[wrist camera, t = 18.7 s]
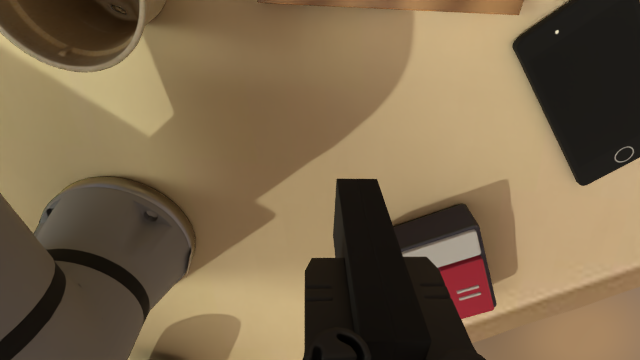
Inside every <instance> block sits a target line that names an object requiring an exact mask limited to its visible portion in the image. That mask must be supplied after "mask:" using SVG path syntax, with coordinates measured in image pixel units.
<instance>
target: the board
mask: <svg viewBox="0 0 640 360" xmlns="http://www.w3.org/2000/svg"><path fill="white" fill-rule="evenodd" d="M258 3H274V4H295V5H317V6H338V7H359V8H380V9H401V10H422V11H443V12H464V13H486V14H507V15H519V13H520V10H521V7H522V3H523V0H258Z"/></svg>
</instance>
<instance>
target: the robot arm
mask: <svg viewBox="0 0 640 360" xmlns="http://www.w3.org/2000/svg"><path fill="white" fill-rule="evenodd" d="M333 238H334V248H335V258H312V259H311V261H310V263H309V264H308V266H307V268H306V270H305V352H304V358H303V360H486V359H485V358H483V357H482V356H481V355H479V354H478V353H477V352H476V350H475V349H474V347H473V345H472V343H471V341H470V338H469V336H468V334H467V332H466V329H465V327H464V325H463V323H462V320H461V318H460V316H459V314H458V311H457V309H456V307H455V305H454V302H453V300H452V299H451V298H450V293H449V291H448V289H447V287H446V286H445V282H444V280H443V278H442V275H441V273H440V271H439V269H438V268H437V267H436V266H435V265H434V264H433V263H432V262H431V261H430V260H429V259H428V258H427V257H403V255H402V252H401V249H400V246H399V243H398V240H397V237H396V234H395V231H394V228H393V225H392V222H391V219H390V216H389V213H388V210H387V207H386V204H385V202H384V199H383V196H382V193H381V190H380V187H379V184H378V181H377V179H337V183H336V199H335V215H334V231H333ZM194 251H195V235H194V231H193V229H192V226H191V224H190V222H189V220H188V219H187V217H186V216H185V214H184V213H183V212H182V211H181V210H180V209H179V207H178V206H177V205H176V204H174V203H173V202H172V201H171V200H170V199H168V198H167V197H166V196H164V195H163V194H161V193H160V192H158V191H156V190H154V189H152V188H150V187H148V186H146V185H143V184H141V183H138V182H135V181H132V180H128V179H123V178H117V177H92V178H87V179H83V180H80V181H77V182H75V183H73V184H71V185H69V186H67V187H66V188H65V189H64V190H62V191H61V192H60V193H59V194H58V195H57V196H56V197H55V198H53V199H52V200H51V201H50V202H49V203H48V205H47V206H46V207H45V209H44V211H43V213H42V216H41V219H40V221H39V225H38V227H37V229H36V231H35V233H34V234H33V233H32V232H31V231H30V229H29V228H28V227H27V226H26V224H25V223H24V222H23V221H22V219H21V218H20V217H19V216H18V215H17V213H16V212H15V211H14V210H13V208H12V207H11V206H10V205H9V203H8V202H7V201H6V200H5V198H4V197H3V196H2V195H1V193H0V360H127V359H128V357H129V355H130V353H131V350H132V348H133V346H134V344H135V342H136V339H137V337H138V335H139V333H140V331H141V328H142V326H143V324H144V322H145V320H146V317H147V315H148V313H149V311H150V310H151V309H152V308H153V307H154V306H155V305H156V304H157V303H158V302H159V300H160V299H161V298H162V297H163V296H164V295H165V294H166V293H167V292H168V291H169V290H170V289H171V288H172V286H173V285H174V284H176V283H177V282H178V281H179V280H180V279H181V278H182V277H183V276H184V275H185V273H186V271H187V274H188V272H189V269H190V263H191V260H192V257H193V255H194ZM187 269H188V270H187ZM186 277H187V275H186Z"/></svg>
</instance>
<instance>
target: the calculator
mask: <svg viewBox="0 0 640 360" xmlns="http://www.w3.org/2000/svg"><path fill="white" fill-rule="evenodd" d="M393 228H394V231H395V234H396V237H397V240H398V243H399V246H400V249H401V252H402V255H403V257H427V258H428V259H429V260H430V261H431V262H432V263H433V264H434V265H435V266H436V267H437V268H438V269H439V271H440V273H441V275H442V278H443V280H444V282H445V286H446V287H447V289H448V291H449V293H450V298H451V299H452V300H453V302H454V305H455V307H456V309H457V311H458V314H459V316H460V318H461V319H463V318H466V317H470V316H474V315H477V314H481V313H485V312H488V311H492V310H494V307H495V306H496V300H495V296H494V291H493V287H492V282H491V278H490V273H489V269H488V264H487V260H486V255H485V251H484V246H483V242H482V237H481V233H480V228H479V225H478V224H477V222H476V220H475V219H474V217H473V216H472V214H471V212H470V211H469V209H468V208H467V206H466V205H465V204H460V205H457V206H454V207H451V208H448V209H445V210H442V211H439V212H436V213H433V214H430V215H427V216H424V217H421V218H419V219H416V220H413V221H410V222H407V223H404V224H401V225H398V226H395V227H393Z"/></svg>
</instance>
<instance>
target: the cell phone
mask: <svg viewBox="0 0 640 360" xmlns="http://www.w3.org/2000/svg"><path fill="white" fill-rule="evenodd" d="M513 49H514V51H515V53H516V55H517V57H518V59H519V61H520V63H521V65H522V68H523V70H524V72H525V74H526V76H527V78H528V80H529V82H530V84H531V86H532V89H533V91H534V93H535V95H536V97H537V99H538V101H539V103H540V105H541V107H542V110H543V112H544V114H545V116H546V118H547V120H548V122H549V124H550V126H551V128H552V131H553V133H554V135H555V137H556V139H557V141H558V143H559V145H560V147H561V149H562V152H563V154H564V156H565V158H566V160H567V162H568V164H569V166H570V168H571V171H572V173H573V175H574V177H575V179H576V181H577V182H578V183H579V184H580V185H582V186H584V185H588V184H590V183H592V182H594V181H595V180H597V179H599V178H601V177H603V176H605V175H607V174H609V173H611V172H613V171H615V170H617V169H618V168H620V167H622V166H624V165H626V164H628V163H630V162H632V161H634V160H636V159H638V158H639V157H640V2H639V0H571V1H569V2H568V3H567V4H565V5H564V6H562V7H561V8H559V9H558V10H557V11H555V12H554V13H552V14H551V15H549V16H548V17H546V18H545V19H544V20H542V21H541V22H539V23H538V24H536V25H535V26H534V27H532V28H531V29H529V30H528V31H526V32H525V33H524V34H522V35H521V36H519V37H518V38H517V39H516V40H515V41H514V43H513Z"/></svg>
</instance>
